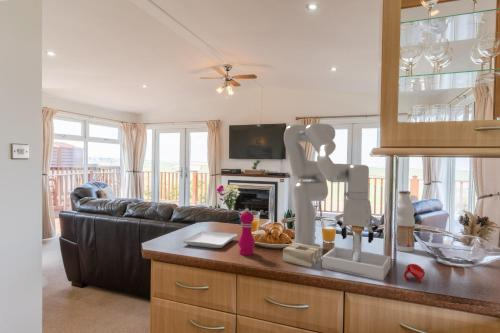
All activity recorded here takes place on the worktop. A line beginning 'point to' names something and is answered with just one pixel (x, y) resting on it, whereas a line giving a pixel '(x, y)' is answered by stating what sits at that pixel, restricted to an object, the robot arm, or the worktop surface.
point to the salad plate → (209, 239)
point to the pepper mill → (246, 234)
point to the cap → (414, 271)
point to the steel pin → (357, 243)
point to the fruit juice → (405, 223)
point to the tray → (357, 263)
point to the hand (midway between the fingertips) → (357, 240)
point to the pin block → (302, 254)
